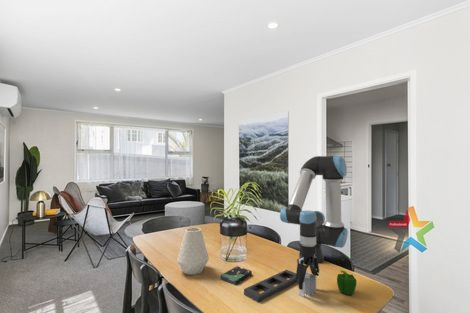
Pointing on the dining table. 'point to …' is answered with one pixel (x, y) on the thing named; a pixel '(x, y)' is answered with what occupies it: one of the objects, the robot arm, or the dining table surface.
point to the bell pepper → (346, 283)
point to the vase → (192, 252)
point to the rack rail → (267, 286)
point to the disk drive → (235, 275)
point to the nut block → (309, 284)
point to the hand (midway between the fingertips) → (307, 292)
